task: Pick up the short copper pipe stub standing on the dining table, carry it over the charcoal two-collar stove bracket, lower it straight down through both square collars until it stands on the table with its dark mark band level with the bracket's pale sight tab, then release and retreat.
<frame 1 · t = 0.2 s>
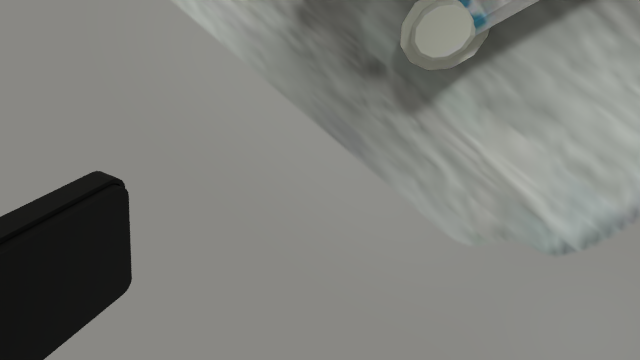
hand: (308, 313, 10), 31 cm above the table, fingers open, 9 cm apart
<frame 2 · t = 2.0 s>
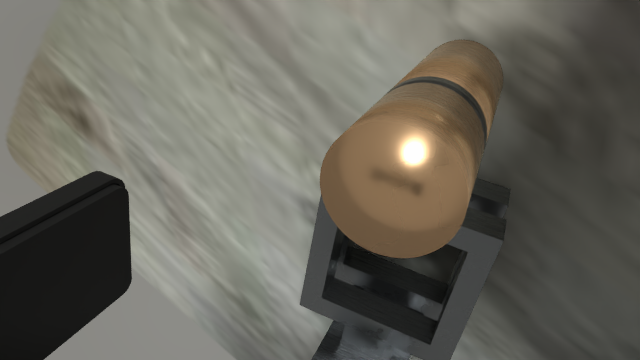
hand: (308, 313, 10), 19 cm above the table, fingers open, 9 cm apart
copper tube: (459, 81, 25), on the table
collar bracket: (415, 218, 30), on the table
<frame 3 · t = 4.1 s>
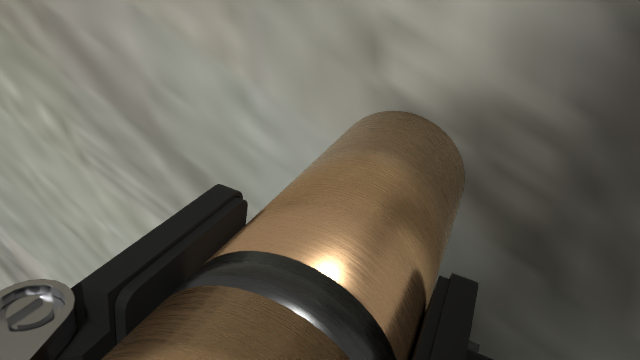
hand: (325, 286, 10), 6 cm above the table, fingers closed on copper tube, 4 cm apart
copper tube: (396, 174, 16), on the table, touching gripper
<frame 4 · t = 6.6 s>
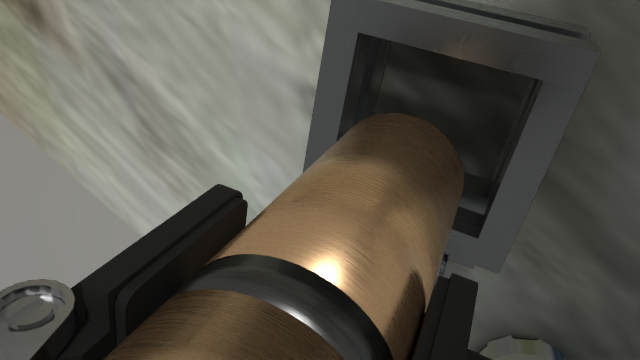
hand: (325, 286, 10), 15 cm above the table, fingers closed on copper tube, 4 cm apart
copper tube: (395, 176, 16), point 9 cm above the table, touching gripper
collar bracket: (449, 94, 23), on the table
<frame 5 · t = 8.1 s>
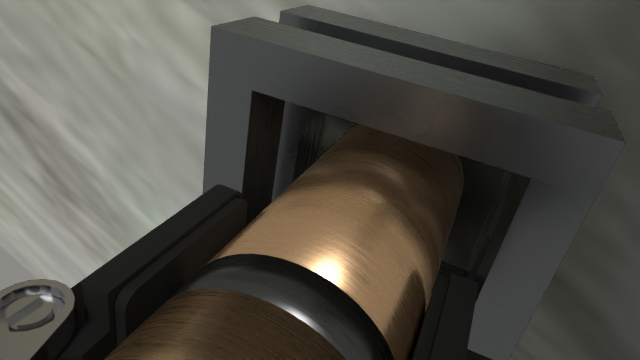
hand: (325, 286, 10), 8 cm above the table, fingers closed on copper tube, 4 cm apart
copper tube: (395, 176, 16), point 2 cm above the table, touching gripper
collar bracket: (409, 154, 17), on the table
when the fingers open (8 cm above the table, at t = 9.2 s): copper tube drops 1 cm, resting in collar bracket.
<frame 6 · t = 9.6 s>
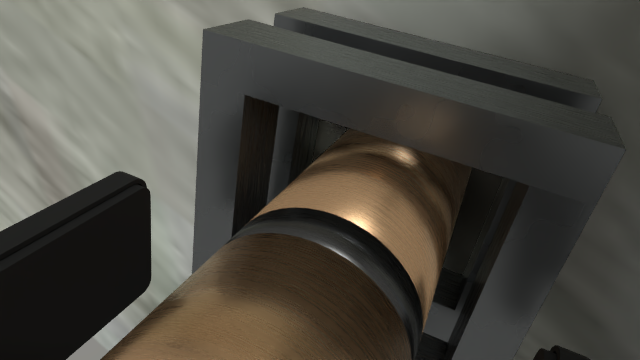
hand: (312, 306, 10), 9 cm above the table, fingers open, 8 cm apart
copper tube: (408, 156, 17), resting in collar bracket
collar bracket: (406, 158, 17), on the table
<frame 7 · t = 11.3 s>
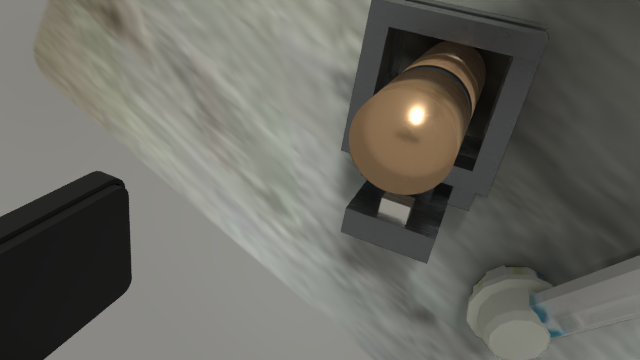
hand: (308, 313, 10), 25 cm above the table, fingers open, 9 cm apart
copper tube: (450, 75, 31), resting in collar bracket
collar bracket: (449, 76, 31), on the table
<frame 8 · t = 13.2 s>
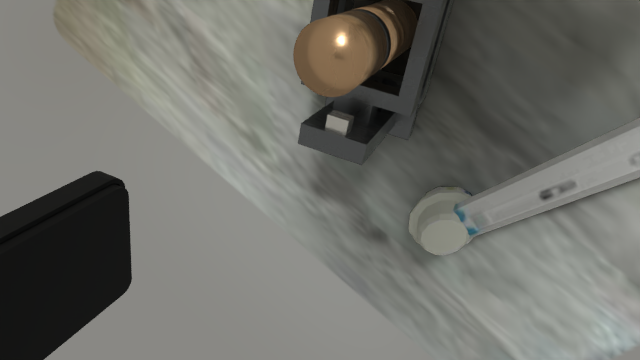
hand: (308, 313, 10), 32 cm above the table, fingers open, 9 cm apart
copper tube: (391, 27, 38), resting in collar bracket
collar bracket: (390, 28, 38), on the table
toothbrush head: (555, 164, 38), on the table
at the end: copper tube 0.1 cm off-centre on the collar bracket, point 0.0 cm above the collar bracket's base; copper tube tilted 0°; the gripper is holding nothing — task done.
